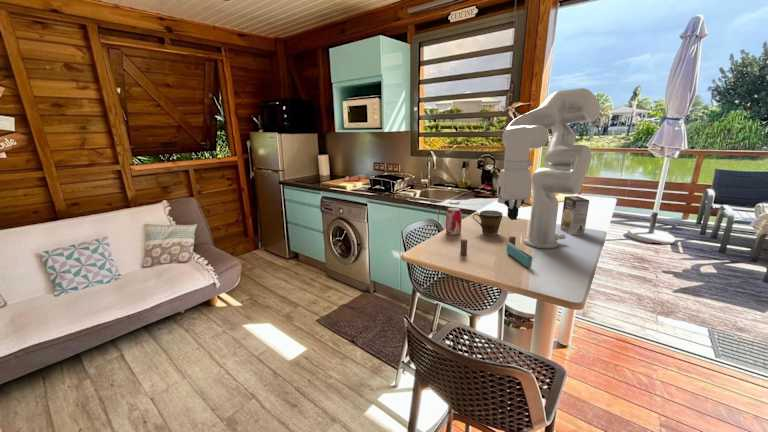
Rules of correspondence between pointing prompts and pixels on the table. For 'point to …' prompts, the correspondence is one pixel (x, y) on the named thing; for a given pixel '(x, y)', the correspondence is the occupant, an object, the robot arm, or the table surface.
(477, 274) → the table surface
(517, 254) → the bar
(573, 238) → the table surface
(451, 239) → the table surface
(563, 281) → the table surface
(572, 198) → the coffee box
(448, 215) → the soda can
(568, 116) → the robot arm
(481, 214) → the ceramic cup
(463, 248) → the gate posts
